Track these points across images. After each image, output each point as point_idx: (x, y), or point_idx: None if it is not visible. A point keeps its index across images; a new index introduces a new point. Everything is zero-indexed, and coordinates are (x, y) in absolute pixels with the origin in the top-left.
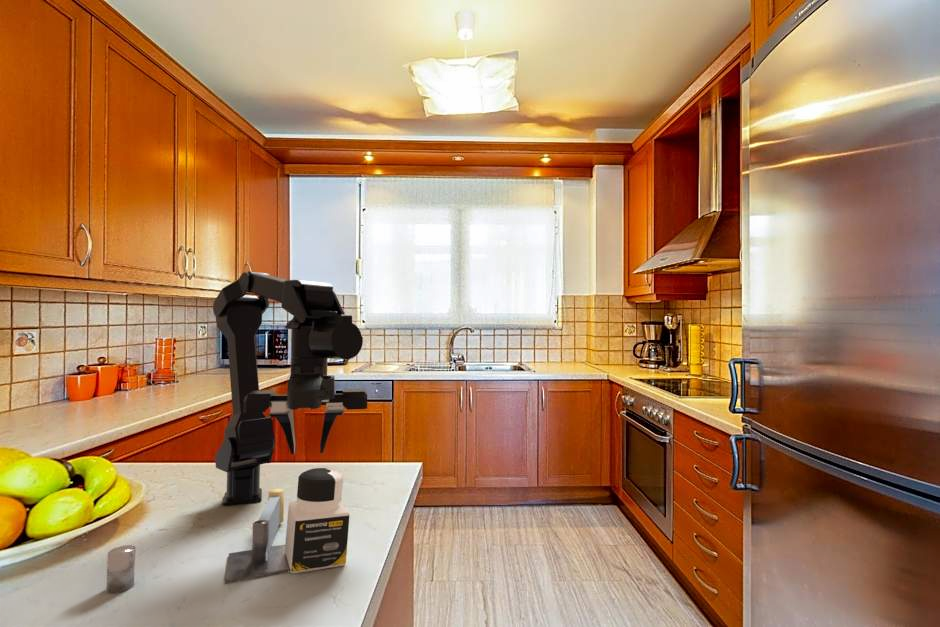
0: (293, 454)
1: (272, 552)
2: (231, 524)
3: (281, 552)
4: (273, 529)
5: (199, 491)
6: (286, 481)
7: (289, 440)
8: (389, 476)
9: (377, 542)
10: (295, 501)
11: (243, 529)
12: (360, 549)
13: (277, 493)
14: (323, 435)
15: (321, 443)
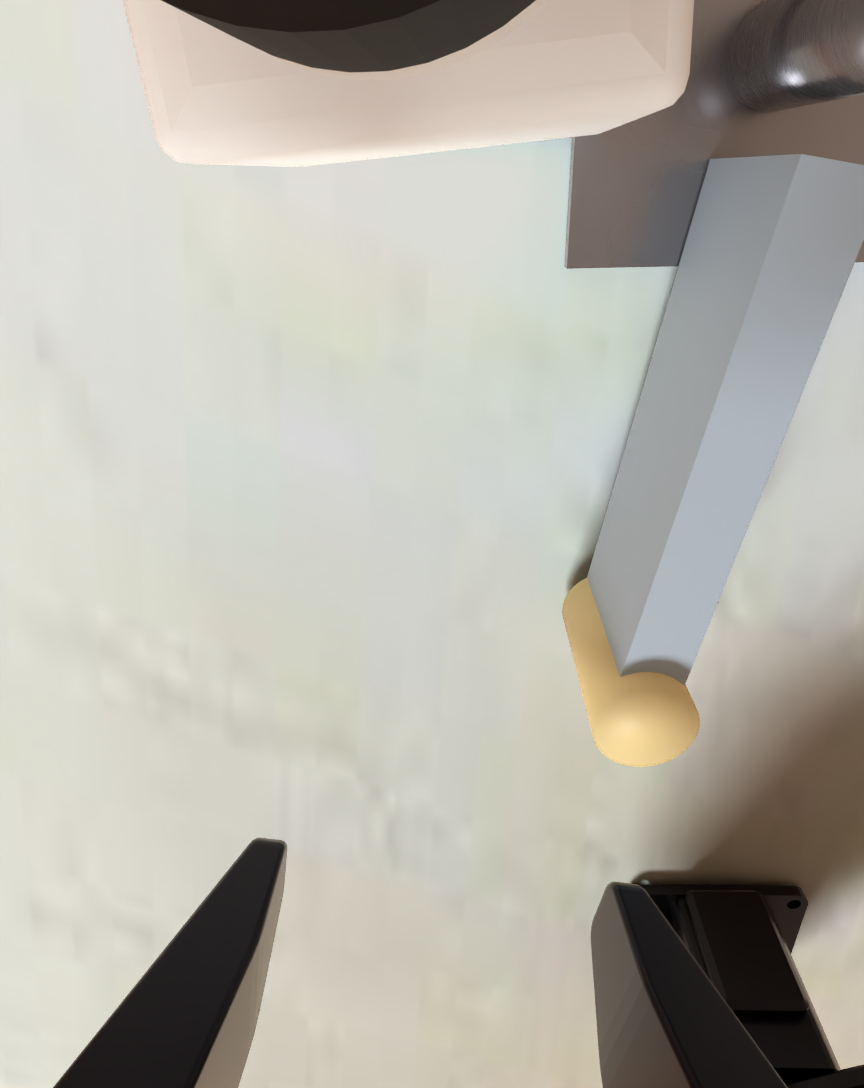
0: (614, 882)
1: (681, 165)
2: (805, 680)
3: (629, 139)
4: (669, 372)
5: (858, 1047)
6: (494, 1045)
7: (745, 1077)
8: (8, 976)
9: (10, 106)
10: (631, 28)
11: (762, 601)
12: (122, 26)
13: (645, 683)
14: (155, 1081)
15: (237, 950)
